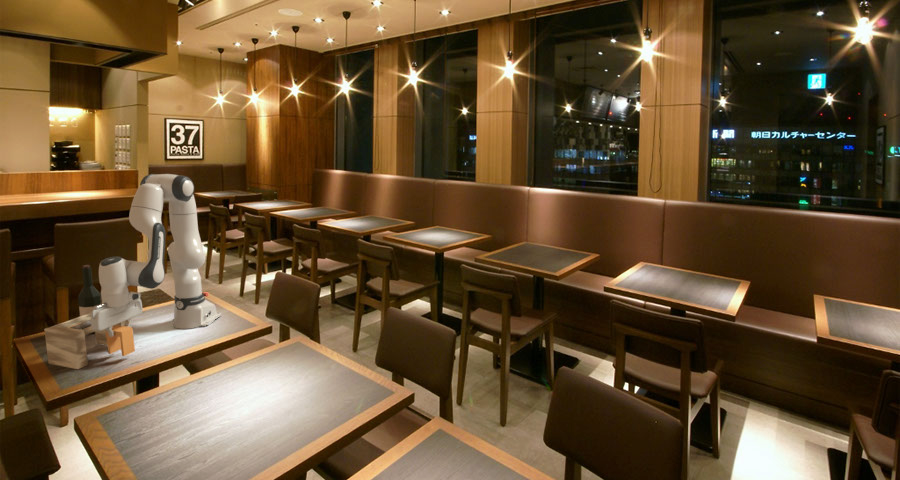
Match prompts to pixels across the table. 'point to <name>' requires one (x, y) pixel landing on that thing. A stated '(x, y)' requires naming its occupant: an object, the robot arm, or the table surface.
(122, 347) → the upright wooden block
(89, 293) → the wine bottle
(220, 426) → the table surface
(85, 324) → the shelf
